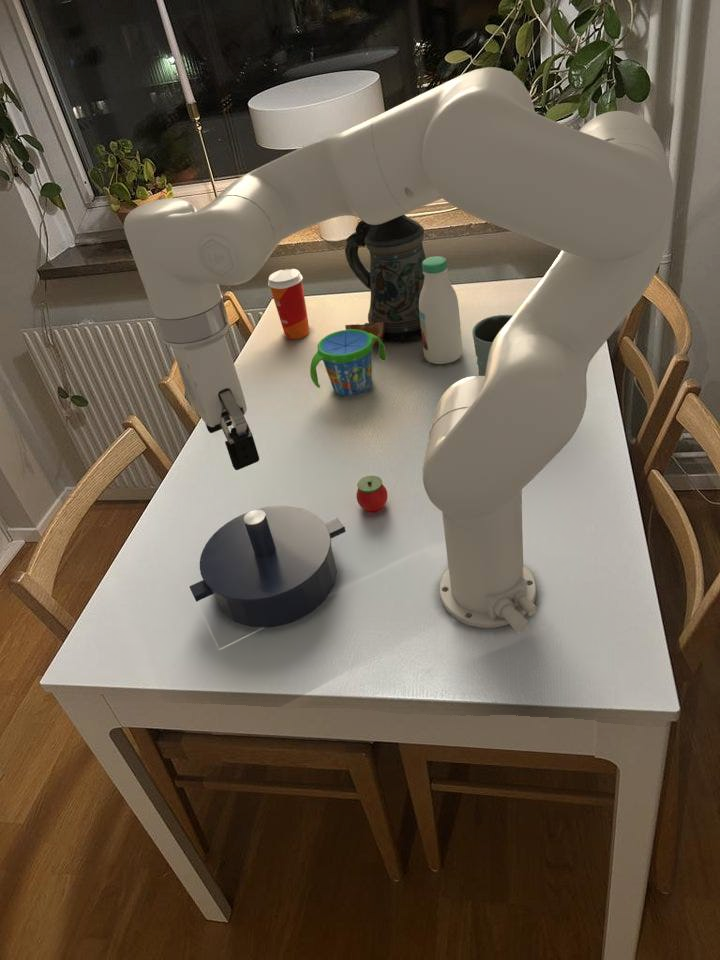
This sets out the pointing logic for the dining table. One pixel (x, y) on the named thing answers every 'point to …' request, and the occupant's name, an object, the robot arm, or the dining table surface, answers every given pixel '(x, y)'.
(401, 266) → the beer stein
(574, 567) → the dining table surface
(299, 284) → the paper cup
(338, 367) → the snack cup
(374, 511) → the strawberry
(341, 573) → the dining table surface
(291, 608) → the pot
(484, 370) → the grey-green cup
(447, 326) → the milk bottle
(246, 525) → the lid
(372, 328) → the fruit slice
